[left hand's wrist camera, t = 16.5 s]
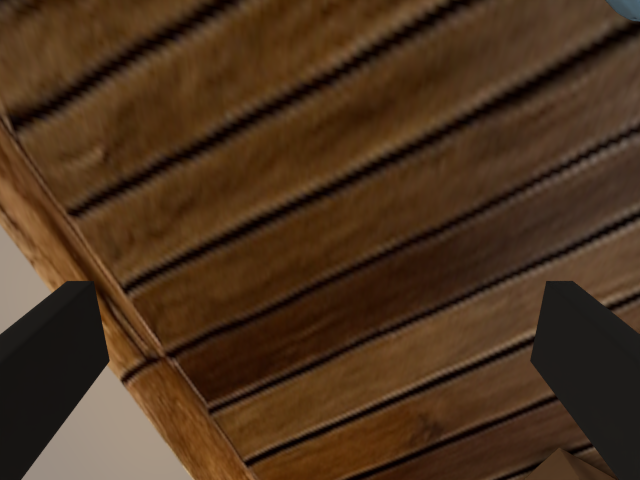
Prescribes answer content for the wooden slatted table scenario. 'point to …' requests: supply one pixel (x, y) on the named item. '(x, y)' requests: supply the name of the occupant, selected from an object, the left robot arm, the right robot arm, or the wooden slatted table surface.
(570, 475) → the bar
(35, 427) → the left robot arm
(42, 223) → the wooden slatted table surface
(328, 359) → the wooden slatted table surface
